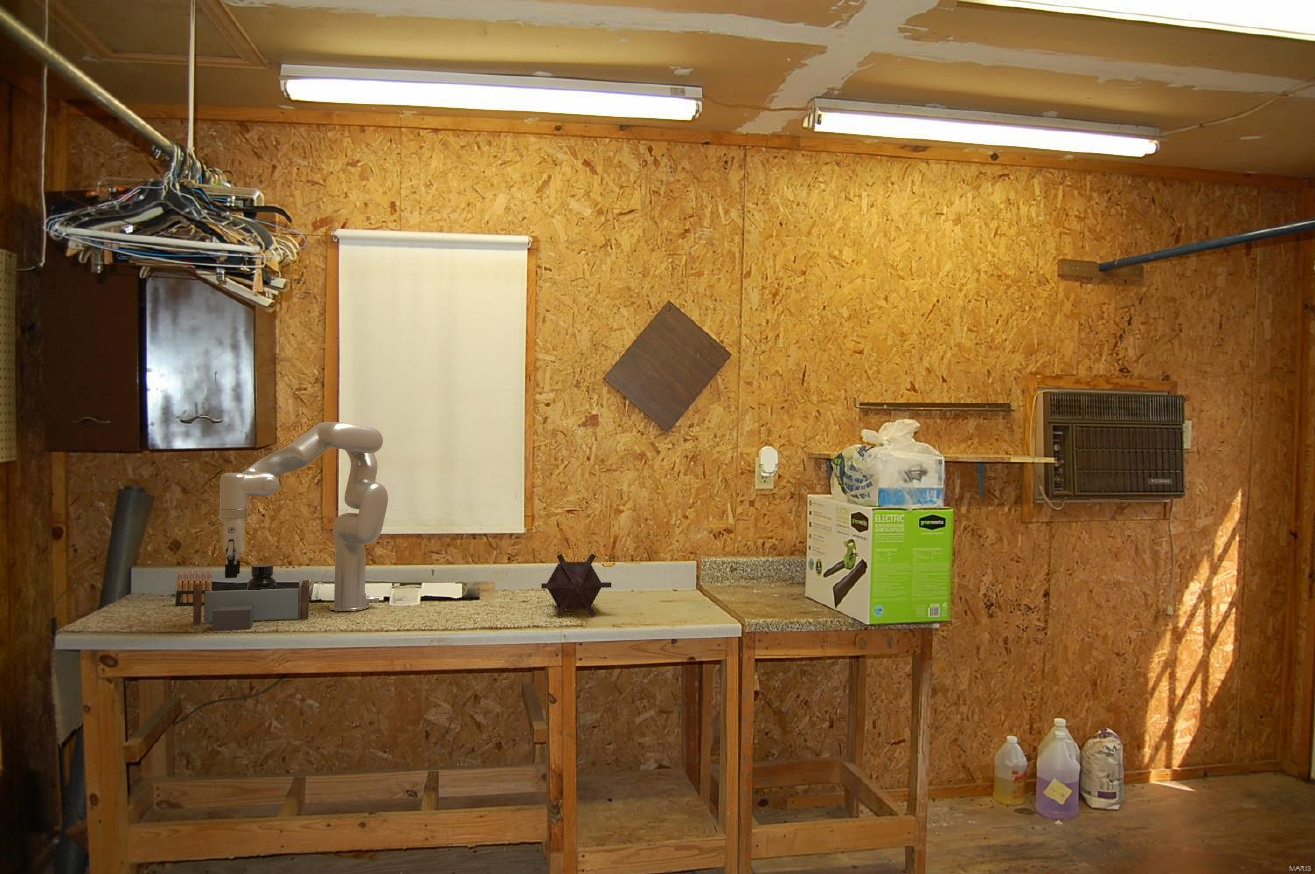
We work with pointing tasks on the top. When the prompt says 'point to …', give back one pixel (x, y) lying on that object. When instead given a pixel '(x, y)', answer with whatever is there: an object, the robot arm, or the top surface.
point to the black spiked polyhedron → (574, 585)
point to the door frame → (302, 612)
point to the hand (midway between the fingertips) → (232, 575)
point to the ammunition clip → (191, 587)
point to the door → (255, 602)
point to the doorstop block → (232, 618)
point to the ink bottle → (262, 576)
